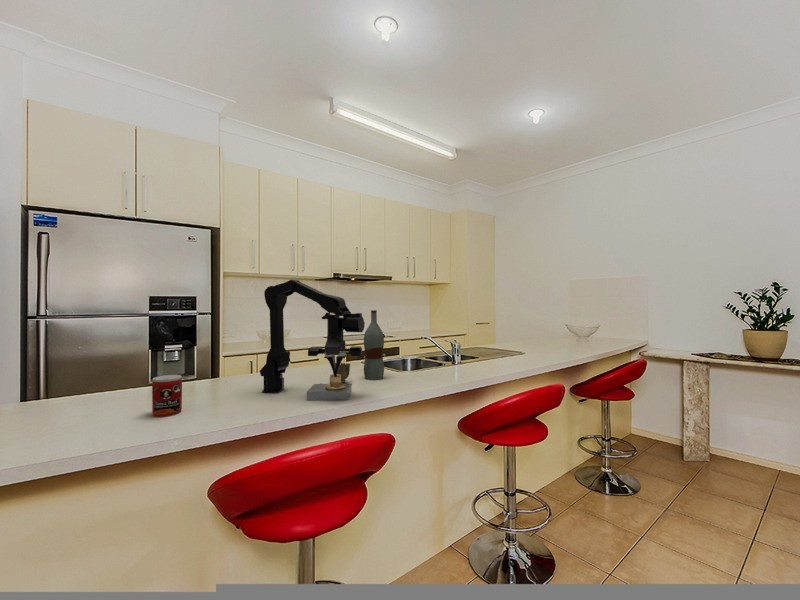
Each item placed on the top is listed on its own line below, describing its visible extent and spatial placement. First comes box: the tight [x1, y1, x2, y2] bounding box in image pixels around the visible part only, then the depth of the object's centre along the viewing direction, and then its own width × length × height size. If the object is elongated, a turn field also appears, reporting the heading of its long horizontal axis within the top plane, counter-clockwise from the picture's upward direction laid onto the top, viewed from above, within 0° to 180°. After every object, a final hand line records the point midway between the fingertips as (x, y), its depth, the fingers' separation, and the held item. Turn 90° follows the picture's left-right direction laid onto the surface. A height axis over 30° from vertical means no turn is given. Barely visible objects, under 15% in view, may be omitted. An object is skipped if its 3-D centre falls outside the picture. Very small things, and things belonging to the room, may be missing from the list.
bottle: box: [363, 309, 385, 381], centre depth 165 cm, size 9×9×30 cm
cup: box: [332, 362, 351, 384], centre depth 155 cm, size 8×7×8 cm
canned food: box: [151, 374, 183, 418], centre depth 114 cm, size 8×8×11 cm
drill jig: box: [306, 383, 353, 401], centre depth 134 cm, size 14×12×3 cm
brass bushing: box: [325, 373, 346, 390], centre depth 134 cm, size 7×7×7 cm
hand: (335, 375), depth 134 cm, fingers closed, pressing on brass bushing
